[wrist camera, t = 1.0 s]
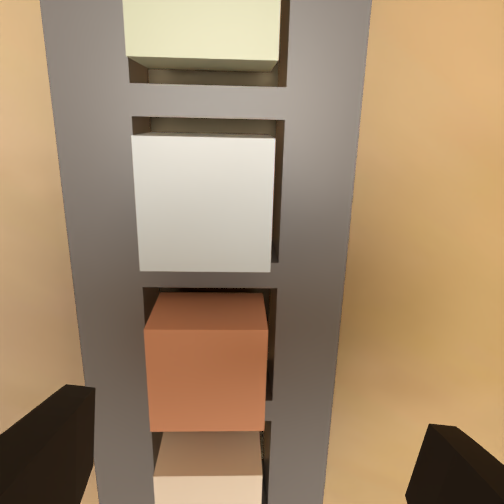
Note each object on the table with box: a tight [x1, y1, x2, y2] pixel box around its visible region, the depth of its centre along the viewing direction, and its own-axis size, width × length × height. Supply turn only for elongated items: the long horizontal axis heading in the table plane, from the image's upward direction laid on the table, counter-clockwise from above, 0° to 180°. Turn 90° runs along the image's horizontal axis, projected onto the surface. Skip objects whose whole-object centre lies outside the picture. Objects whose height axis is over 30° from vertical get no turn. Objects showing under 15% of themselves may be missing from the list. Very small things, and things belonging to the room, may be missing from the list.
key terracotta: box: [144, 292, 268, 432], centre depth 15 cm, size 4×4×3 cm
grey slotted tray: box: [40, 0, 372, 504], centre depth 17 cm, size 10×26×3 cm, turn 179°
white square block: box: [131, 132, 275, 272], centre depth 14 cm, size 4×4×3 cm
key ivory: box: [153, 431, 263, 504], centre depth 17 cm, size 4×4×3 cm
